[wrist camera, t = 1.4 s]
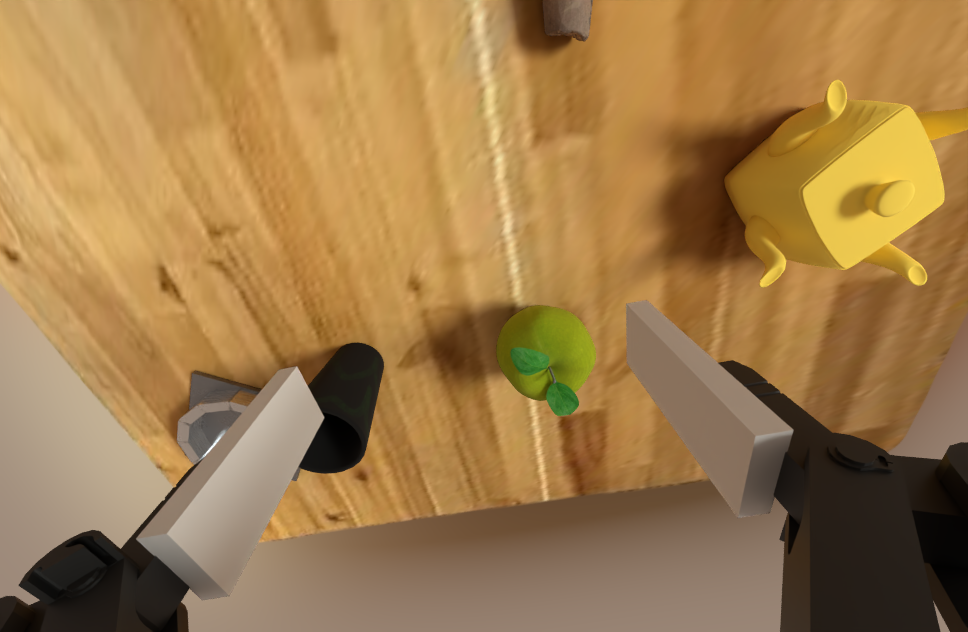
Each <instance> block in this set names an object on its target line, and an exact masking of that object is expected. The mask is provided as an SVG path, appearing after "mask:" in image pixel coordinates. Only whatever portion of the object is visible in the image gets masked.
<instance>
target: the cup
mask: <svg viewBox="0 0 968 632" xmlns="http://www.w3.org/2000/svg"><path fill="white" fill-rule="evenodd" d="M383 369H384V362H383V358H382V357H381V355H380V353H379V352H378V351H377V350H376V349H374V348H373V347H371V346H369V345H366V344H363V343H350V344H346V345H345V346H343V347H341V348H340V349H339V350H338V351H337V352H336V354H335V355H334V356H333V357H332V358H331V359H330V361H329V362H328V363H327V364H326V365H325V366H324V368H323V369H322V370H321V371H320V372H319V373H318V375H317V376H316V377H315V378H314V379H313V380H312V382H311V383H310V384H309V385H308V388H309V390H310V391H311V393H312V395H313V397H314V399H315V401H316V403H317V405H318V406H319V408H320V410H321V412H322V414H323V416H324V419H323V421H322V423H321V425H320V427H319V429H318V431H317V433H316V434H315V436H314V438H313V440H312V442H311V444H310V446H309V448H308V449H307V451H306V453H305V455H304V457H303V459H302V461H301V463H300V464H299V466H298V467H299V468H301V469H304V470H307V471H311V472H315V473H323V474H325V473H337V472H342V471H345V470H347V469H350V468H352V467H354V466H355V465H356V464H357V463H359V462H360V461H361V459H362V458H363V456H364V454H365V451H366V447H367V442H368V438H369V433H370V429H371V424H372V419H373V415H374V410H375V406H376V401H377V396H378V392H379V387H380V383H381V378H382V373H383Z"/></svg>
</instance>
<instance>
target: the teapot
mask: <svg viewBox="0 0 968 632" xmlns="http://www.w3.org/2000/svg"><path fill="white" fill-rule="evenodd" d="M965 130H968V108H963V109H955V110H945V111H930V112H917V113H915V112H914V111H913V110H912V108H911V107H909V106H907V105H902V104H895V103H887V102H878V101H866V100H847V93H846V89H845V86H844V84H843V83H842V82H841V81H840V80H835V81H833V82H832V83H831V84H830V85H829V87H828V89H827V92H826V95H825V99H824V102H821V103H818V104H815V105H812V106H810V107H808V108H805V109H804V110H802V111H800V112H799V113H797V114H795V115H793V116H791V117H790V118H789V119H787V120H786V121H785V122H784V123H783V124H781V125H780V126H779V128H778V129H777V130H776V131H775V132H774V133H773V134H772V135H770V136H769V137H768V138H767V139H766V140H765V141H763V142H762V143H761V144H760V145H759V146H758V147H756V148H755V149H754V150H753V151H752V152H751V153H750V154H749V155H747V156H746V157H745V158H744V159H743V160H742V161H741V162H740V163H738V164H737V165H736V166H735V167H734V168H733V169H732V170H731V171H730V172H729V173H728V174H727V175H726V176H725V178H724V185H725V188H726V191H727V193H728V195H729V197H730V200H731V202H732V204H733V205H734V207H735V209H736V211H737V213H738V215H739V217H740V218H741V220H742V221H743V223H744V224H745V225H746V230H745V240H746V243H747V245H748V246H749V248H750V250H751V251H752V252H753V253H754V254H755V255H756V256H757V257H759V258H760V259H761V260H762V261H763V262H764V264H765V271H764V274H763V276H762V278H761V280H760V283H759V285H760V287H766V286H768V285H770V284H772V283H773V282H774V281H775V280H776V279H777V278H779V276H780V275H781V274H782V273H783V271H784V269H785V266H786V259H788V260H791V261H795V262H799V263H803V264H808V265H813V266H819V267H826V268H832V269H841V270H846V269H848V268H850V267H852V266H853V265H855V264H857V263H858V262H860V261H862V262H866V263H871V264H875V265H878V266H882V267H885V268H887V269H890V270H892V271H894V272H896V273H898V274H900V275H901V276H903V277H904V278H905V279H907V280H908V281H909V282H911V283H913V284H915V285H918V286H920V285H923V284H924V283H926V281H927V274H926V272H925V270H924V268H923V267H922V266H921V265H920V264H919V263H918V262H917V261H915V260H914V259H912V258H911V257H910V256H908V255H907V254H905V253H904V252H902V251H901V250H899V249H898V248H896V247H895V246H893V245H892V244H890V243H889V242H890V241H892V240H893V239H894V238H896V237H897V236H899V235H900V234H902V233H903V232H904V231H906V230H907V229H909V228H910V227H912V226H913V225H915V224H916V223H917V222H919V221H920V220H921V219H923V218H924V217H926V216H927V215H928V214H930V213H931V212H932V211H934V210H935V209H936V208H938V207H939V206H940V205H942V204H943V201H944V187H943V182H942V177H941V173H940V169H939V166H938V162H937V159H936V156H935V152H934V150H933V147H932V145H931V143H930V141H931V140H934V139H937V138H941V137H944V136H948V135H951V134H955V133H958V132H962V131H965Z"/></svg>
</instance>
